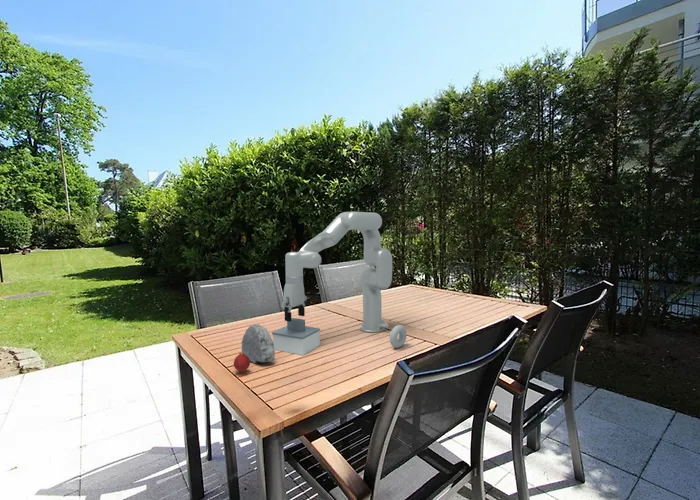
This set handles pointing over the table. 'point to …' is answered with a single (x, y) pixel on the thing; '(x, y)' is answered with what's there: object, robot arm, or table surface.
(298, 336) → the lid
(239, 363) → the onion
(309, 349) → the tub
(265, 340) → the decorative rock
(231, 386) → the table surface
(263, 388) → the table surface
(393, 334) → the donut
